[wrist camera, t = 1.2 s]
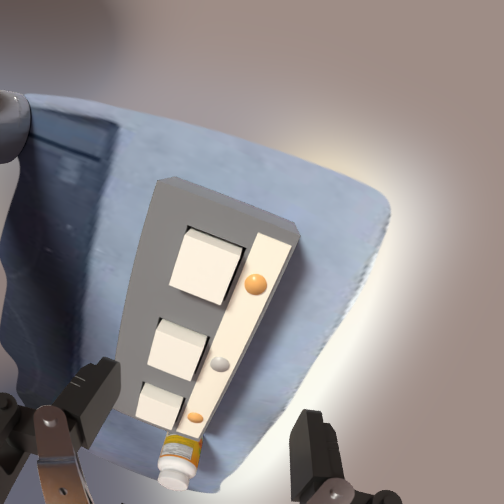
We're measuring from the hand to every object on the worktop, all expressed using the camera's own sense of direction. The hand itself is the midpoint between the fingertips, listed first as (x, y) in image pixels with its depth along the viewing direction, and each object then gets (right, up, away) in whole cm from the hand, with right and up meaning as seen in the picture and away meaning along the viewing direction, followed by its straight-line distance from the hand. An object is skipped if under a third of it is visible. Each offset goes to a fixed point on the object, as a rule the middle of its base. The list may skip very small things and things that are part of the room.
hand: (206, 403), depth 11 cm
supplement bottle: (-8, -21, +27) cm, 34 cm away
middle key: (-5, -2, +17) cm, 17 cm away
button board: (-5, -1, +20) cm, 21 cm away
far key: (-8, -10, +19) cm, 23 cm away
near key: (-2, +6, +14) cm, 15 cm away
